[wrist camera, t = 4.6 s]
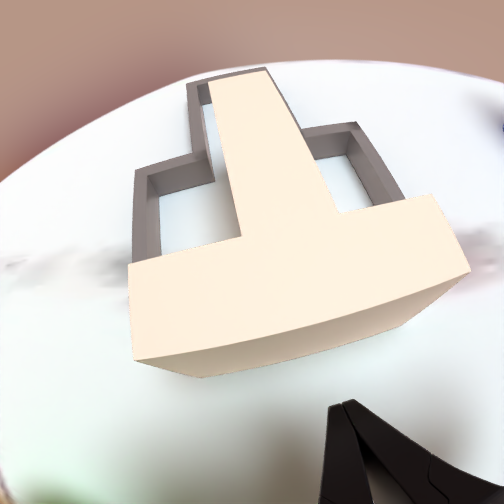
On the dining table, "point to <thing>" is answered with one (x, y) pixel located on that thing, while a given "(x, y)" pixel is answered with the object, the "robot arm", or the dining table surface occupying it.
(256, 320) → the t block
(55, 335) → the dining table surface
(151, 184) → the t outline
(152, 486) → the dining table surface
